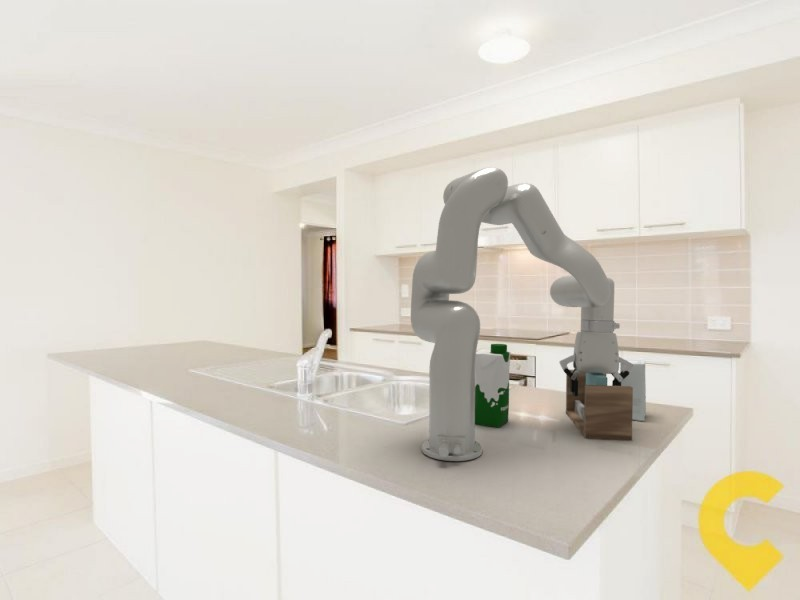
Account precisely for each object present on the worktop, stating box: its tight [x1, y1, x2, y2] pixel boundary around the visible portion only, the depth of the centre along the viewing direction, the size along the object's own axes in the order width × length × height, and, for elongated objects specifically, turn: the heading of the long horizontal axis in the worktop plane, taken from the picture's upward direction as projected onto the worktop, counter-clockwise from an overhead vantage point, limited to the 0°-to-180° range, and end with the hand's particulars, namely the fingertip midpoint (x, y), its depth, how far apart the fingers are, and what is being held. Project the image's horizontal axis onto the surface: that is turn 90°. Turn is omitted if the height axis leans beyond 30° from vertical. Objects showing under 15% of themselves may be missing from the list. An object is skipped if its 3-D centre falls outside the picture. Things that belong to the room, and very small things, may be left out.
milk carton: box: [475, 343, 511, 429], centre depth 122 cm, size 9×9×20 cm
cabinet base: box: [565, 369, 633, 441], centre depth 119 cm, size 22×10×12 cm, turn 172°
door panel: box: [586, 373, 608, 386], centre depth 119 cm, size 10×3×12 cm, turn 172°
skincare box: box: [619, 359, 647, 422], centre depth 128 cm, size 8×6×15 cm
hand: (595, 395), depth 119 cm, fingers open, 9 cm apart
